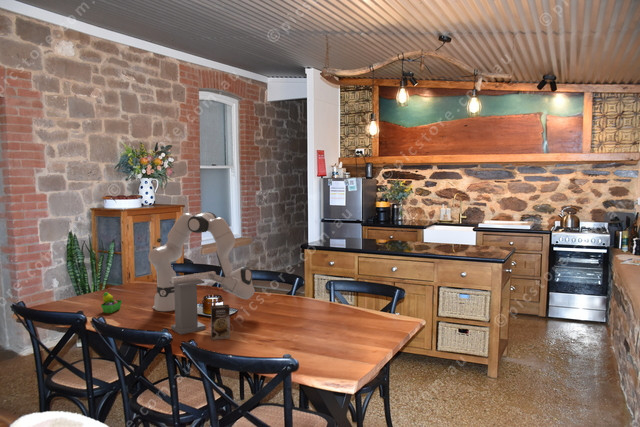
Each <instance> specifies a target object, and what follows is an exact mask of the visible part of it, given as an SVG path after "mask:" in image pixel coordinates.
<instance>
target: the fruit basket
mask: <svg viewBox="0 0 640 427" xmlns="http://www.w3.org/2000/svg"><path fill="white" fill-rule="evenodd" d="M102 300H103V303H101V304H100V307H101V309H102V312H103V313H104V314H112V313H114V312H117V311H118V310H120V309H121V306H122V303H123V300H120V299H119V300H118V299H114V296H113V295H112V294H110V293H109V292H107V291H106V292H104V293H103V297H102Z"/></svg>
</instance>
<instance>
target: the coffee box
mask: <svg viewBox="0 0 640 427" xmlns="http://www.w3.org/2000/svg"><path fill="white" fill-rule="evenodd" d="M230 309H231V308H230V305H229V304H217V305H216V304H215V305H210V337H211V340H212V341H213V340H214V341H215V340H227V339H231V334H230V333H231V326H230V325H231V324H230V321H231V320H230V319H231V318H230V316H231V315H230V312H231V311H230Z"/></svg>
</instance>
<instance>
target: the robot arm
mask: <svg viewBox="0 0 640 427" xmlns="http://www.w3.org/2000/svg"><path fill="white" fill-rule="evenodd" d="M206 232H209V233H210V234H211V235H212V237H213V239H214V242H215V245H216V257H217V259H218V263H219V266H220V269H221V272H222V276H221V275H219V274H216V275H214V276H213V278H209V279H208V280H210V281H213V282H215V283H217V284H220V285H221V289H222V290H223V291H224V292H225V293H229V294H230V295H234V296H235V297H237V298H240V299H243V300H249V299H251V298H252V297H253V296H254V294H255V288H254V286H253V272H252V270H251V269H250V268H249V267H248V266H241V267H239V268H237V269H235V270H233V268H232V264H231V263H230V259H229V255H230V252H231V251H232V250H233V248H234V246H235V245H236V239H235V235H234V233H233V231H232V229H231V227H230V226H229V224H228V223H227V221H226V219H225V218H223V217H217V215H216V214H215V213H213V212H212V211H211V212H210V211H206V212H201V213H197V214H192V213H190V212H185V213H183V214H182V215H181V216H179V218H178V219H177V220H176V221H175V222H174V224H173V226H172V227H171V229H170V230H169V232H168V233H167V236H166V237H167V241H166V243H165V244H163V245H162V246H157V247H154V248H153V249H152V250H150V251H149V253H148V255H147V256H148V261H149V262H150V264H151V265H153V267H154V269H155V272H156V283H157V284H156V289H155V290H156V293H155V295H154V303H153V304H154V305H153V306H152V309H154V310H155V311H157V312H172V311H175V295H174V285H173V284H171V283H170V281H171V277H176V276H177V274H176V273H177V272H176V271H175V270H174V269H173V267H172V263H173V262H176V261H178V260H179V259H180V258H181V257H182V255H183V247H184V245H185V243H186V242H187V240H188V238H189V237H190V235H191V234H192V233H194V234H201V233H206Z"/></svg>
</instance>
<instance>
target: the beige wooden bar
mask: <svg viewBox="0 0 640 427" xmlns="http://www.w3.org/2000/svg"><path fill="white" fill-rule="evenodd" d="M214 275H217V272H216V271H214V270H212V271H206V272H204V271H203V272H198V273H197V272H196V273H191V274H190V273H189V274H185V275H178V276H177V275H176V277H171V283H173V284H176V283H183V282H189V281H196V280H210V279H209V278H213V276H214Z"/></svg>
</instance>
